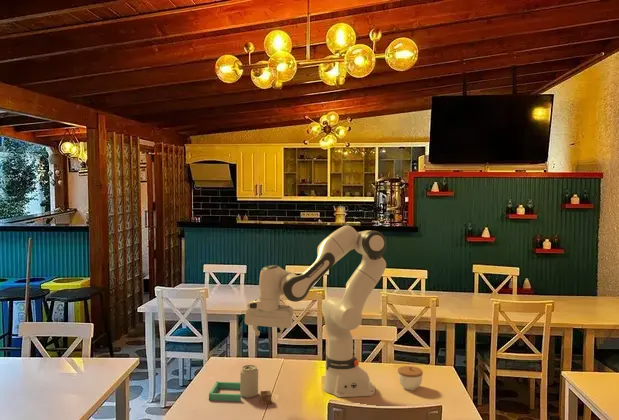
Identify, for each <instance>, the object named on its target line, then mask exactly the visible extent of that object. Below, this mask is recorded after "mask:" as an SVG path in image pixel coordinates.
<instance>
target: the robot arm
mask: <svg viewBox="0 0 619 420" xmlns="http://www.w3.org/2000/svg"><path fill="white" fill-rule="evenodd" d="M386 248H387V239H386V237H385V235H384V234H383V233H381V232H380V231H377V230H362V231H357V230H356V229H355V228H354V227H353V226H351V225H348V224H347V225H343V226H341V227H339V228H337V229H336V230H334V231H333V232H331V233H330V234H329V235H327V237H325V238H324V239H323V240H322V241H321V242H320V243H319V244H318V246H317V250H316V252H317V253H316V254H317V256H316V259H315V261H314V262H313V263H312V264H311V265H310V266H308V268H307V269H305V271H304V272H302V273H301V274H299V275H297V274H296V273H294V272H290V271H287V270H286V269H283V268H282V267H280V266H279V265H277V264H271V265H270V264H269V265H266V266H264V267H262V268H261V270H260V273H259V279H258V280H259V281H258V282H259V283H258V288H259V294H258V299H257V298H256V299H253V300H251V301H249V302H248V303H247V309H246V310H245V313H244V324H245V325H247V326H252V329H253V331H254V334H255V335H254V336H255V337H259V336H260V333H261V331H260V330H259V329H258V327H259V326H260V327H271V328H279V330H280V332H277V334H276V338H277V339H282V333H283V331H284V330H285V329H290V328H292V326H293V315H294V309H293V307H292V306H290V305H283V304H280V302H281V301H280V300H281V296H283V295H284V296H285V298H286V299H287V300H288V301H290V302H293V303H296V302H297V303H298V302H301V301H303V300H304V299H305V298H307V296H308V294H309V292H310V290H311V289H312V288H313V286H314V285H315V284H316V283H317V282H318V281H319V280H320V279H321V278H322V277H323V276H324V275H325V274H326V273H327V272H329V270H330V269H331V268H332V267H333V266H334V265H335V264H336V263H337V262H338V261H340V260H341V259H342V258H344V256H346V255H347V254H348V253H349V252H350V251H354V252H355V253H357V254H358V255H362V257H361V262H360V263H359V265H358V266H357V267H356V268H355V270H354V272H353V273H352V274H351V276H350V278H349V279H348V280H347V282H346V283H345V291H344V294H343V296H342V298H341V297H339V296H329V297H327V298H325V299H324V300H323V301H322V303H321V313H322V314H323V319H324V324H325V331H326V336H327V337H326V338H327V355H326V358H325V370H326V373H325V379H324V383H323V386H322V388H323V390H324V391H325V392H326V393H329V394H331V395H334V396H335V397H337V398H350V397H351V398H353V397H371V396H374V395H375V392H376V387H375V384H374V383H373V382H371V380H370V376H369V374H368V372H367V371H366V370H365V369H363V368H361V367H360V366H359V363H360V362H359V360H358V358H357V356H354V354H353V353H354V337H353V336H352V332H351V331H353V330H355V329H358V327H360V325H361V323H362V321H363V320H362V319H363V316H362V315H363V314H362V313H363V310H364V306H365V305H366V304H365V303H366V302H367V299H368V297H369V296H370V294H371V293H372V291H373V290H374V289H375V287H376V285H378V283H379V281H380V280H381V279H382V276H383V275H384V272H385V270H386V269H387V262H386V260H385V259H384V256H385V251H386Z"/></svg>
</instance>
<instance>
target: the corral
mask: <svg viewBox="0 0 619 420" xmlns="http://www.w3.org/2000/svg"><path fill="white" fill-rule="evenodd" d="M218 389H227V390H231V389H232V390H240V382H237V381H236V382H235V381H216V382H215V384H214V385H213V387H212V388H211V390H210V392H209V393H208V401H227V402H241V401H242V400H241V399H242V395H241V394H239V393H223V392H222V393H220V392H219V393H218Z"/></svg>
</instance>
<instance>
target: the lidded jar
mask: <svg viewBox="0 0 619 420" xmlns="http://www.w3.org/2000/svg"><path fill="white" fill-rule="evenodd" d="M423 373H424V371H423V370H422V369H421V368H419V367H417V366H411V365H405V366H399V367H398V369H397V377H398V382H399V384H400V385H401V387H402V389H404V390H407V391H415V390H417V389H418V388H419V387H420V385H421V384H422V382H423Z"/></svg>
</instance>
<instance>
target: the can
mask: <svg viewBox="0 0 619 420" xmlns="http://www.w3.org/2000/svg"><path fill="white" fill-rule="evenodd" d="M239 374H240V379H239V381H240V389H239V391H240V392H239V393H240V394H241V397H243V398H245V399H246V398H247V399H249V398H255V397H256V396H257V395H258V394H259V369H258V368H257V365H253V364H245V365H243V366H242V367H241V370H240V372H239Z"/></svg>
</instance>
